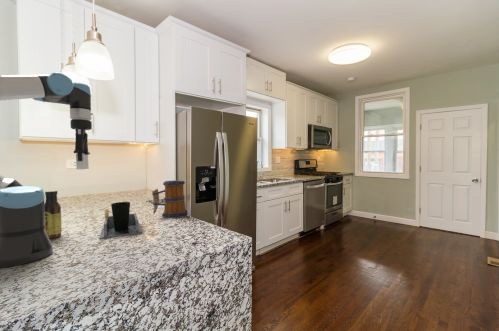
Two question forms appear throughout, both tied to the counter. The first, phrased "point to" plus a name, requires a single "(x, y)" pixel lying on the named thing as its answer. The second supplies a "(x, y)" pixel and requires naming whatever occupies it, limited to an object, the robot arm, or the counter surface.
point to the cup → (121, 215)
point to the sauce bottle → (52, 215)
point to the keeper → (110, 232)
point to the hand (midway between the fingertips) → (82, 169)
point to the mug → (171, 199)
